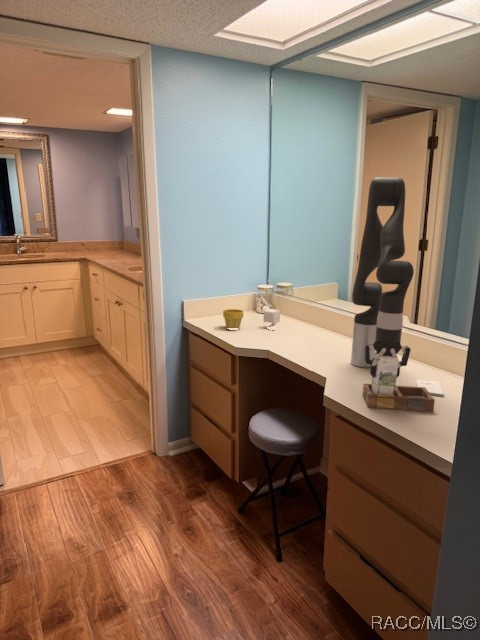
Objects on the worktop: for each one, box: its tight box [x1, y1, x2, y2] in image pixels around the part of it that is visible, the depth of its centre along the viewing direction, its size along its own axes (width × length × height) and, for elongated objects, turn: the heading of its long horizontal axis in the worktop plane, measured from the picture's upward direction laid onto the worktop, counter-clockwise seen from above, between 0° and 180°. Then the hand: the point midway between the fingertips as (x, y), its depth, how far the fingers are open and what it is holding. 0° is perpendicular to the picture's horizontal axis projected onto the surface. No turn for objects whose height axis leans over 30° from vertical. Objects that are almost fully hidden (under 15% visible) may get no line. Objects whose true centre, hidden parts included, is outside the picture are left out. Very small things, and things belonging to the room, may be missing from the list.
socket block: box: [362, 383, 436, 413], centre depth 144 cm, size 11×20×4 cm, turn 83°
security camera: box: [263, 308, 281, 327], centre depth 236 cm, size 6×7×10 cm
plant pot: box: [222, 308, 244, 329], centre depth 234 cm, size 10×10×10 cm
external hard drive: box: [415, 379, 445, 398], centre depth 157 cm, size 2×8×12 cm
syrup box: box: [371, 353, 400, 395], centre depth 143 cm, size 6×6×14 cm
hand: (384, 376), depth 143 cm, fingers closed on syrup box, 6 cm apart
